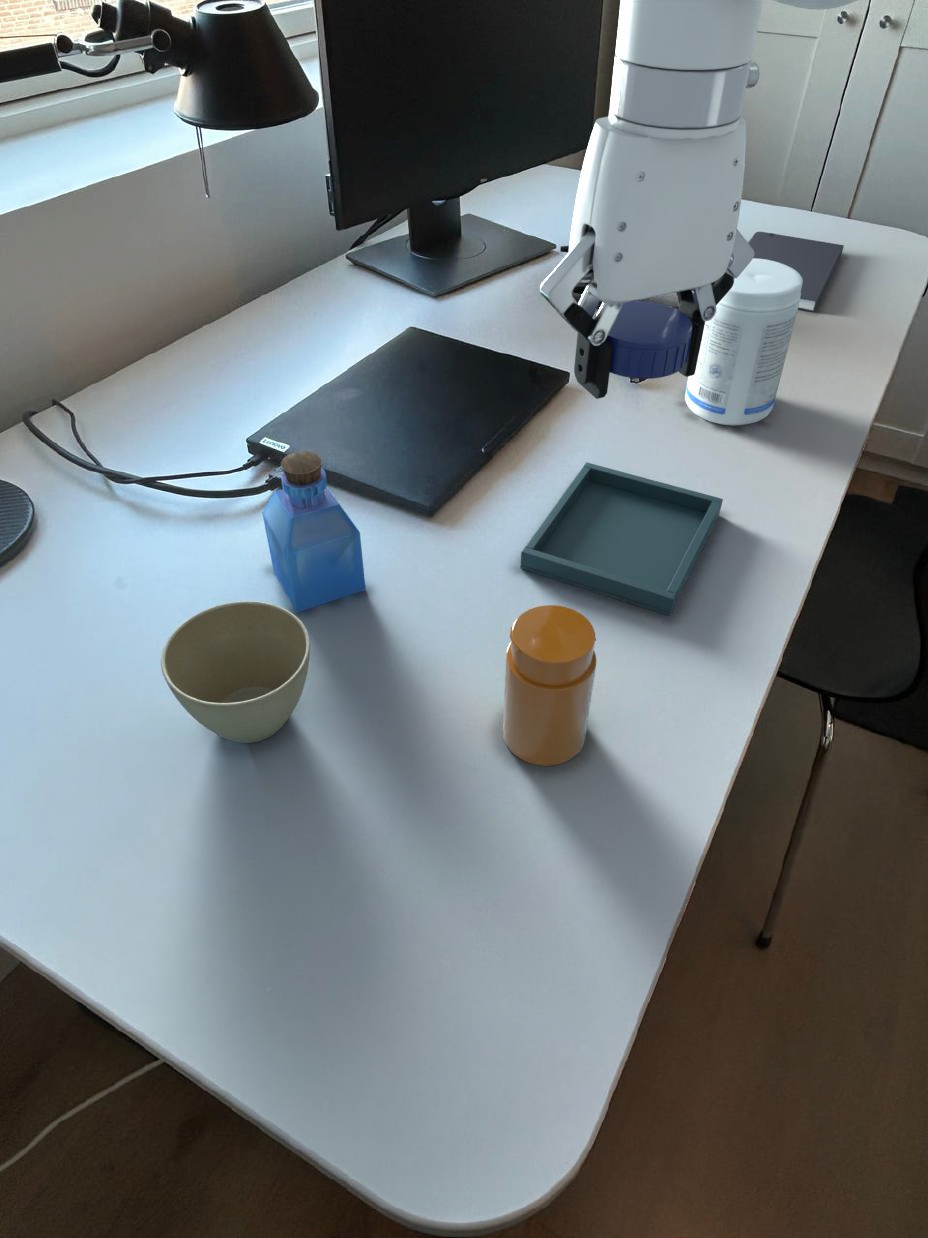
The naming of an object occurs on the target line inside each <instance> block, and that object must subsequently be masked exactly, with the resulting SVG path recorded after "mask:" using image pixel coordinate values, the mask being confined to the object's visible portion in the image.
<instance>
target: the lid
mask: <svg viewBox="0 0 928 1238" xmlns="http://www.w3.org/2000/svg"><path fill="white" fill-rule="evenodd" d="M672 307H673V306H669V305H666V304H662V303H658V302H652V301H642V300H637V301H632V302H627V303H624V304H623V306H622V308H621V310H620V312H619V314H618V316H617V318H616V320H615V322H614V324H613V326H612V328H611V330H610V332H609V334H608V336H607V338H606V340H607V341H608V342H610V343H611V344H612V347H613V350H612V358H611V366H610V374H614V375H616V376H620V377H624V378H631V379H639V380H641V379H642V380H650V379H651V380H653V379H660V378H665V377H669V376H672V375H674V374H676V373H679V372H678V371H679V370H681V369H682V368H683V367H684V365H685V363H687V359H688V353H689V348H690V343H691V337H692V322H691V320H690V319H689V318H688V316H686V315H685V314H684V313H682V312H681V311H679V310H677V309H675V308H672ZM597 313H598V311H596V312H595V314H594V316H593V319H595V317H596V315H597Z"/></svg>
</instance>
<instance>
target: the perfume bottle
mask: <svg viewBox="0 0 928 1238" xmlns="http://www.w3.org/2000/svg"><path fill="white" fill-rule="evenodd" d="M322 463H323V459H322V456H320V455H319V454H317V453H316V452H313V451H307V450H304V451H303V450H300V451H295V452H292V453H289V454H287V455H286V456H284V457H283V459H282V460H281V462H280V465H281V468H282V471H283V472H282V473H281V477H280V478H281V485H282V489H279V490H275V491H274V492H273V494H272V495H271V497H270V499H269V501H267V504H266V505H265V507H264V508H263V510H262V518H263V523H264V529H265V534H266V539H267V544H268V549H269V555H270V560H271V565H272V570H273V572H274V573H275V575H276V577H277V579H278V581H279V582H280V584H281V587H282V588H283V590H284V592H285V593H286V596H287V597H288V599H289V601H290V603H291V604H292V606H293V608H294V610H295V612H296V613H299V612H302V611H306V610H308V609H312V608H315V607H318V606H320V605H323V604H326V603H330V602H333V601H335V600H339V599H343V598H346V597H348V596H352V595H354V594H357V593H360V592H363V591H366V590H367V589H366V579H365V568H364V560H363V549H362V548H363V547H362V540H361V532H360V530H359V529H358V527H357V526H356V524H355V523H354V521H353V520H352V519H351V517H350V516H349V515H348V513H347V512H346V510H345V509H344V508H343V506H342V504H341V503H340V501H339V500H338V499H337V497H336V496H335V495H334V493H333V492H332V491H331V489H330V487H328V485H327V484H328V481H327V474H326V471H325V469H324V468H323V467H322V466H323V465H322Z"/></svg>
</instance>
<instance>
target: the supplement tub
mask: <svg viewBox="0 0 928 1238" xmlns="http://www.w3.org/2000/svg"><path fill="white" fill-rule="evenodd" d="M802 283H803V280H802V277H801V275H800V274H799V273H798V272H797V271H796V270H794V269H793V268H791V267H789V266H787V265H784V264H781V263H778V262H775V261H770V260H765V259H756V258H753V259H752V261H751V262H750V263H749V264H748V265H747V267H746V268H745V269H744V270H743V271H742V273H741V274H740V275H739V276H738V278H737V279H736V278H735V279H734V284H733V286H732V288H731V289H730V291H729V292H728V293H727V294H726V295H725V296H724V297H723V298H722V300H721V301H720V302H719V303H718V304H717V305H716V314H715V316H714V317H713V318H712V319H711V320H709V321H705V326H704V331H703V336H702V341H701V346H700V351H699V356H698V361H697V366H696V371H695V374H694V375H692V376H688V377H687V383H686V389H685V394H684V399H685V403H686V405H687V407H688V409H690V411H692V412H693V413H694V414H695V416H696V415H697V416H698V417H700V418H701V419H703V420H706V421H709V422H711V423H716V424H718V425H724V426H744V425H749V424H753V423H757V422H759V421H762V420H763V419H765V418H766V417H767V416H768V415H770V414H771V412H772V410H773V408H774V405H775V401H776V399H777V393H778V390H779V387H780V382H781V378H782V375H783V370H784V365H785V361H786V359H787V353H788V350H789V346H790V342H791V339H792V334H793V330H794V326H795V322H796V319H797V314H798V310H799V309H798V306H799V302H800V297H801V288H802Z"/></svg>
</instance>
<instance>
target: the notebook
mask: <svg viewBox="0 0 928 1238" xmlns="http://www.w3.org/2000/svg"><path fill="white" fill-rule="evenodd" d="M747 242H748V243H749V245H750V246H751V247H752V248H753V250H754V252H755V253H754V258H756V259H765V260H770V261H775V262H778V263H781V264H784V265H787V266H789V267H791V268H793V269H794V270H796V271H797V272H798V273H799V274H800V275H801V277H802V280H803V283H802V288H801V297H800V302H799V306H798V310H802V311H807V312H811V313H814V312H815V310H816V308H817V306H818V304H819V302H820V300H821V297H822V295H823V294H824V292H825V289H826V288H827V285H828V283H829V281H830V279H831V278H832V275H833V273H834V271H835V270H836V267H837V265H838V263H839V261H840V259H841V257H842V254H843V251H844V247H845V245H844V244H840V243H839V244H838V243H832V242H827V241H821V240H814V239H809V238H802V237H796V236H789V235H783V234H780V233H779V234H778V233H774V232H773V233H772V232H765V231H756V232H754V234H753V235H752V237H751V238H750V240H749V241H747Z"/></svg>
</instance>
